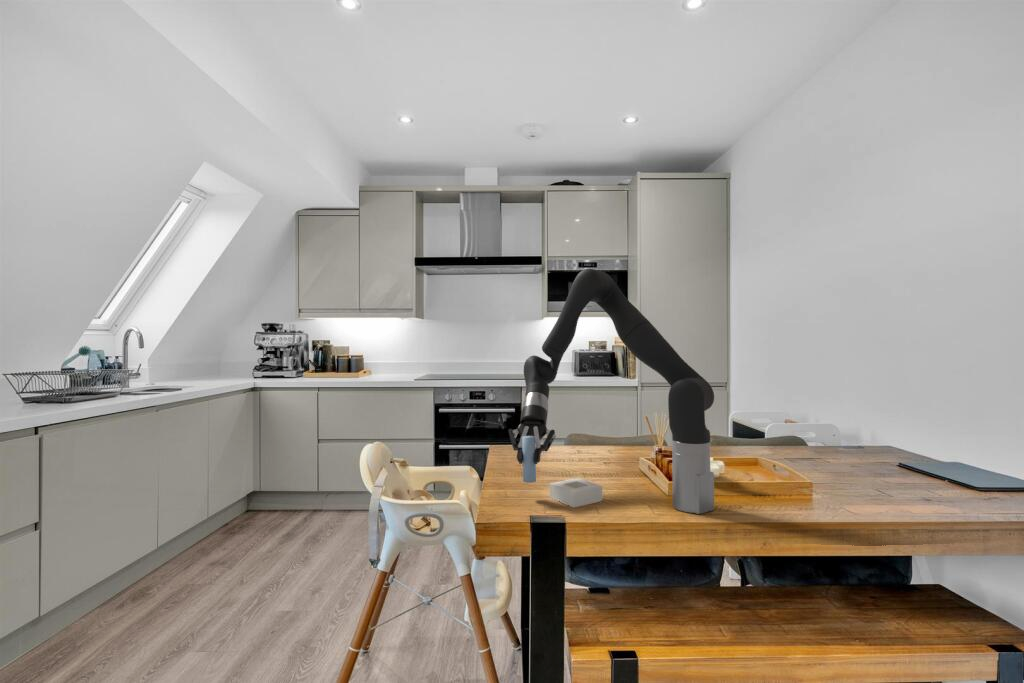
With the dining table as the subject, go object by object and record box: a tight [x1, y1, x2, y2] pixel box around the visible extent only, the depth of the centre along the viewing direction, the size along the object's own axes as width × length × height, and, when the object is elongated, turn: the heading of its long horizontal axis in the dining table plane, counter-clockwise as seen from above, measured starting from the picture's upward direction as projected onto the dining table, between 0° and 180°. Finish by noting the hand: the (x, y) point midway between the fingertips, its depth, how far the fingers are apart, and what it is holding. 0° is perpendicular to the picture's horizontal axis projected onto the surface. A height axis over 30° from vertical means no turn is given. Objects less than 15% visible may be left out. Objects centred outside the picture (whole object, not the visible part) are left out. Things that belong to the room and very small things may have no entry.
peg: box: [522, 436, 537, 484], centre depth 143 cm, size 4×4×12 cm
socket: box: [549, 477, 603, 508], centre depth 141 cm, size 10×10×4 cm
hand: (527, 462), depth 141 cm, fingers closed on peg, 3 cm apart
